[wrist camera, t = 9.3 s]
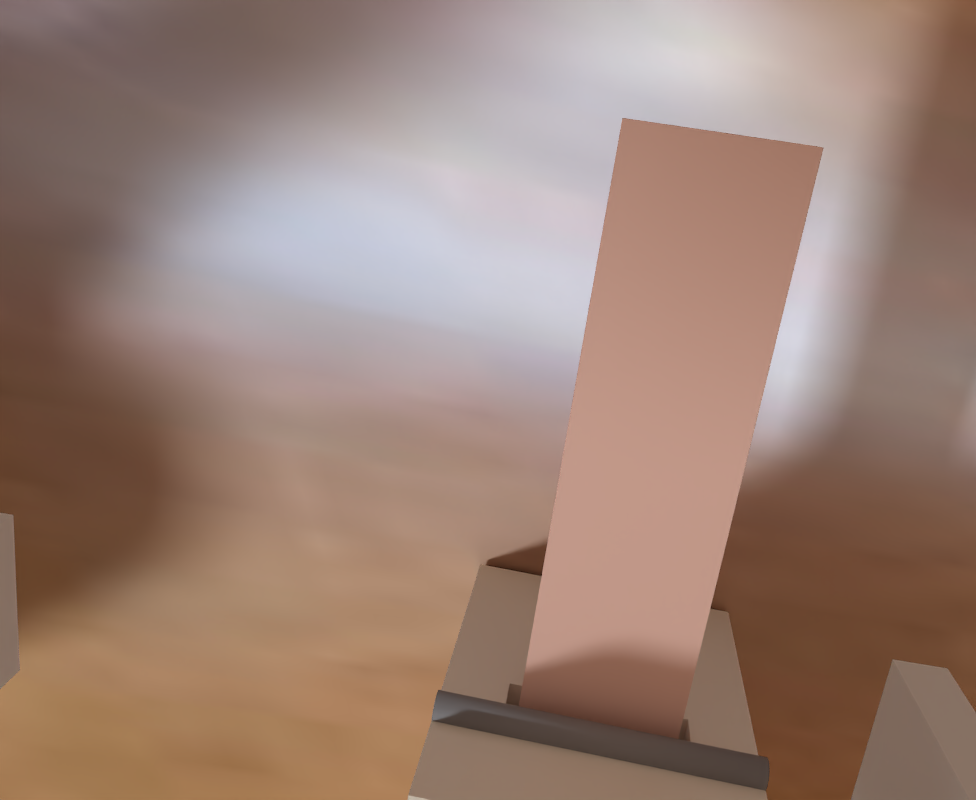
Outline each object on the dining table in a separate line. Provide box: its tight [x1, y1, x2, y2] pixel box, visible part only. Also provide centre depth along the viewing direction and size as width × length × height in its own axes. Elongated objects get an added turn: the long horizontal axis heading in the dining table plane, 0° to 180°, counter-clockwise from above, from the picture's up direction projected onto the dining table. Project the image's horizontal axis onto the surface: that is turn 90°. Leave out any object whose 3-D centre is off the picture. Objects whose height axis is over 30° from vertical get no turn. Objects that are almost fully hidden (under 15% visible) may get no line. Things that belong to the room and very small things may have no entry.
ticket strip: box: [519, 118, 823, 739], centre depth 32 cm, size 6×24×1 cm, turn 172°
